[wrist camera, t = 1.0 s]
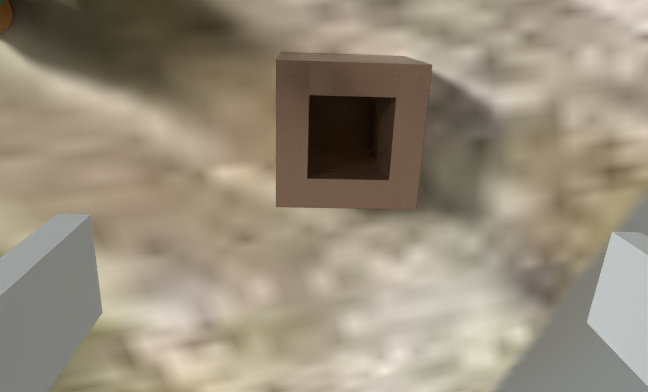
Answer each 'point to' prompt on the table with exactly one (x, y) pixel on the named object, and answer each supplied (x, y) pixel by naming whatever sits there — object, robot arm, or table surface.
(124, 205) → the table surface
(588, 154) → the table surface
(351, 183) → the link
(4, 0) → the binoculars
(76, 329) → the robot arm
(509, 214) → the table surface
